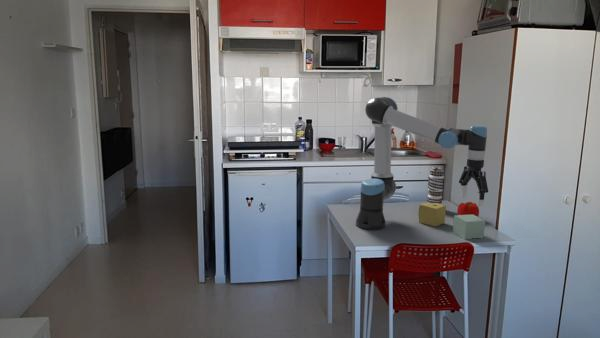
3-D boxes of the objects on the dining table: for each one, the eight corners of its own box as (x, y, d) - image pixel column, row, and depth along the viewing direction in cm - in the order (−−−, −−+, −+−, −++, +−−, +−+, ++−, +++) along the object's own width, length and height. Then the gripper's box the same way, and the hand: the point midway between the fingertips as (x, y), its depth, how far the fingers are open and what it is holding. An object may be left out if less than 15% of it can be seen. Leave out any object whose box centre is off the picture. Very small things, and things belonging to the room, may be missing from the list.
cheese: (427, 218, 246) (429, 200, 244) (445, 223, 239) (447, 205, 237) (417, 222, 239) (418, 204, 237) (435, 227, 232) (437, 208, 230)
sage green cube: (464, 239, 215) (466, 221, 213) (452, 232, 224) (454, 215, 223) (483, 238, 217) (485, 220, 215) (471, 231, 227) (472, 214, 225)
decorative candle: (428, 211, 259) (432, 168, 254) (423, 207, 268) (426, 165, 263) (444, 211, 260) (448, 169, 255) (438, 207, 269) (442, 166, 264)
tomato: (465, 215, 254) (467, 199, 253) (482, 221, 244) (484, 204, 242) (451, 217, 250) (453, 201, 248) (468, 223, 239) (470, 207, 237)
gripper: (499, 163, 202) (494, 209, 206) (467, 154, 226) (463, 195, 230) (484, 163, 200) (479, 209, 205) (454, 154, 224) (450, 195, 228)
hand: (471, 202), depth 217 cm, fingers open, 13 cm apart
